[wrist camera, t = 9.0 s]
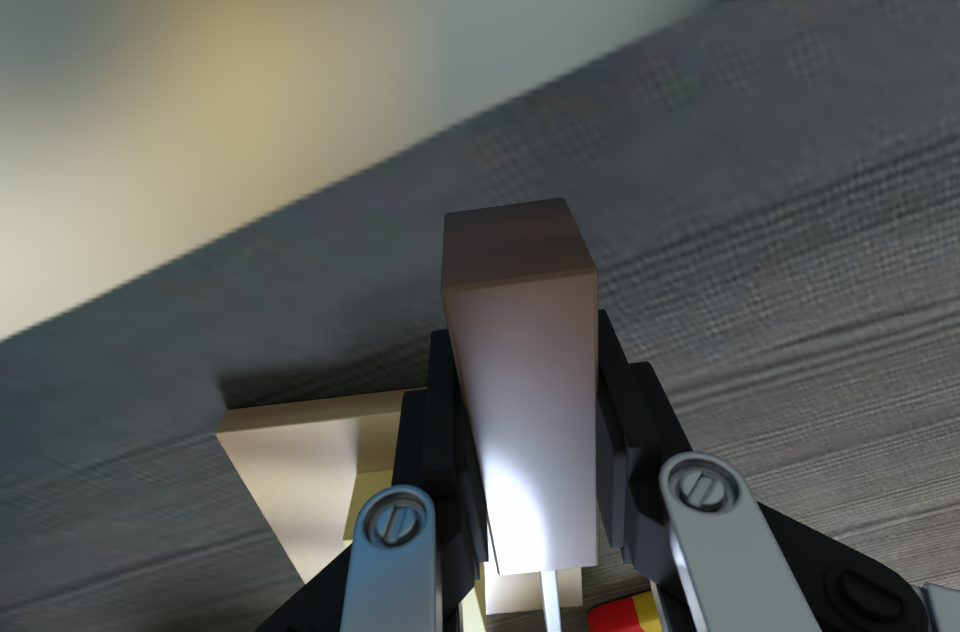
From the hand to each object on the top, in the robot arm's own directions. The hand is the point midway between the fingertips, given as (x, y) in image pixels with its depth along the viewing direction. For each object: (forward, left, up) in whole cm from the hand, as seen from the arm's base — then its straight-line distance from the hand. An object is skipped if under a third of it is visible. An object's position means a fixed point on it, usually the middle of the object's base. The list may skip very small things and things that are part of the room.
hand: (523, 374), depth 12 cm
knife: (+4, 0, -1) cm, 5 cm away
